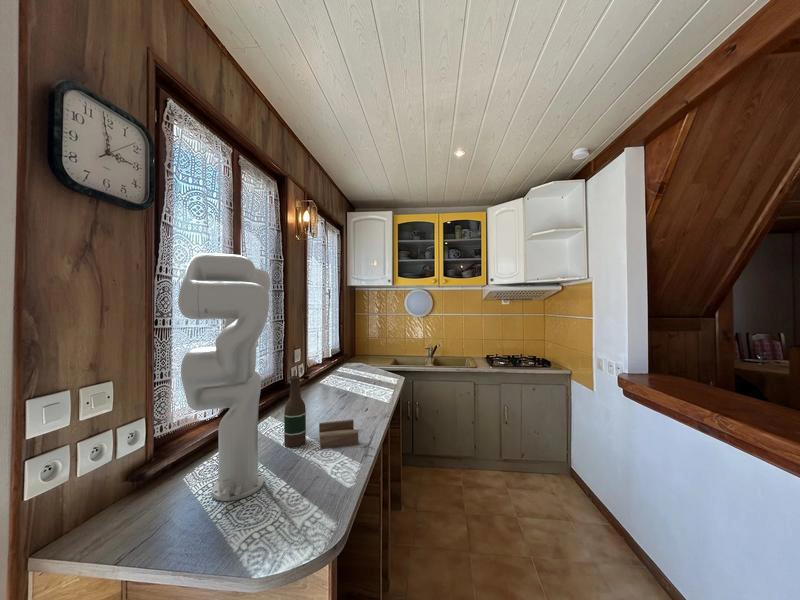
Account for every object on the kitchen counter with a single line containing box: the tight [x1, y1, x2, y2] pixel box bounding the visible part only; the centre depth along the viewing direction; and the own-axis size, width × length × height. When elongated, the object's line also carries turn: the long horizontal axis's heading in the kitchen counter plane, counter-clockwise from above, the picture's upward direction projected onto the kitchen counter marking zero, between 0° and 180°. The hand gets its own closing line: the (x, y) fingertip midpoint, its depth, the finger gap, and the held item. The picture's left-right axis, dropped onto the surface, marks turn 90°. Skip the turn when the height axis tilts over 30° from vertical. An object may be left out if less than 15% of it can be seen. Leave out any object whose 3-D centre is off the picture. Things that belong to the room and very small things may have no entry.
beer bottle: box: [283, 374, 307, 449], centre depth 114 cm, size 8×8×24 cm
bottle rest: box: [318, 419, 359, 450], centre depth 118 cm, size 14×13×4 cm
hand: (241, 364), depth 110 cm, fingers closed
